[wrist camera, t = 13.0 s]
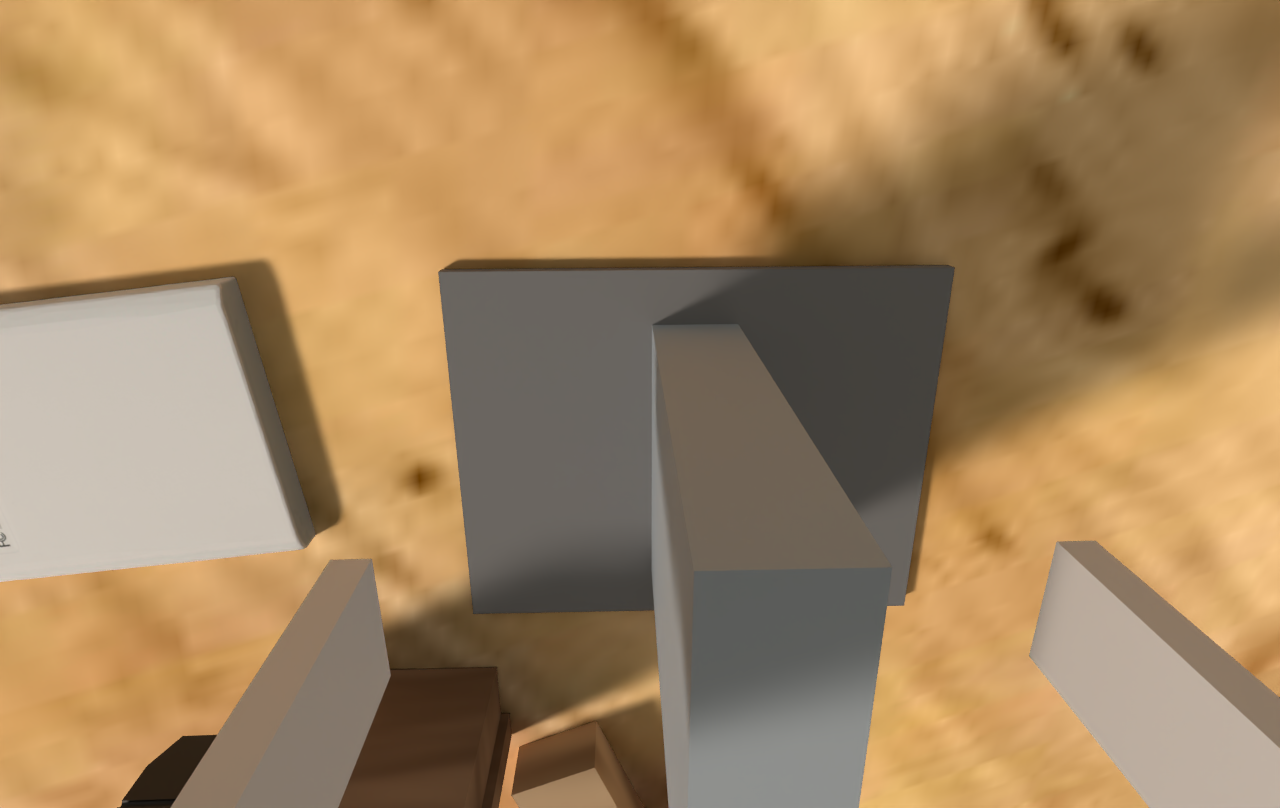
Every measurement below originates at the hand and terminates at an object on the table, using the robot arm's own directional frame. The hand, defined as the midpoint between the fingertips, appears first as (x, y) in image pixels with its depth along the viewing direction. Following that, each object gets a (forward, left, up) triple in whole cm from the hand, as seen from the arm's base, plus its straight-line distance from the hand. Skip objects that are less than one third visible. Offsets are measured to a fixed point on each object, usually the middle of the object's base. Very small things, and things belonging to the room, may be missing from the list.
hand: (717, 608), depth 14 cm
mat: (0, 0, -8) cm, 8 cm away
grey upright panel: (0, 0, -8) cm, 8 cm away
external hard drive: (0, -18, -9) cm, 20 cm away
